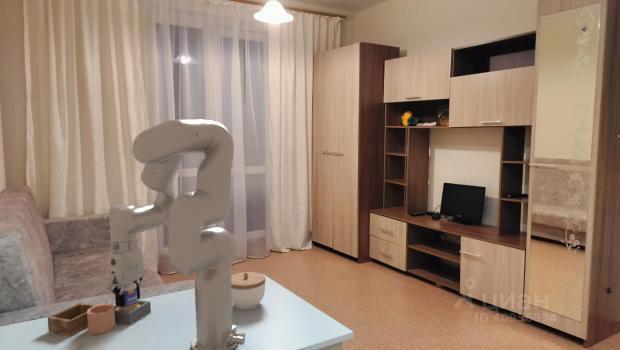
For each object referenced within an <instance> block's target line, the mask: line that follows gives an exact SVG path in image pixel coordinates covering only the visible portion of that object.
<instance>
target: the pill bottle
mask: <svg viewBox="0 0 620 350" xmlns="http://www.w3.org/2000/svg"><path fill="white" fill-rule="evenodd" d="M118 289H120V286H118ZM123 294H125V307H119V309H120V310H122V311H129V310H133V309H135V308H136V307H137V306H138V301H137V300H138V299H137V285H136V283H134V282H131V283H129V284H127V285H124V290H123Z"/></svg>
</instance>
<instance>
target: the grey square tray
mask: <svg viewBox="0 0 620 350" xmlns="http://www.w3.org/2000/svg"><path fill="white" fill-rule="evenodd" d="M137 301H138V304H141V305H140V306H139V307H137V308H135V309H133V310H131V311H129V312H128V311H122V310H116V309H117V308H119V306H116V304H113V305H114V311H115V323H117V324H118V323H119V324H124V325H132V324H134V323H135V322H137V321H139V320H140V319H143V318H144V317H146V316H147V315H149V314H151V313H152V308H151V307H152V306H151V305H152V304H151V301H147V300H143V299H142V300H140V299H137Z"/></svg>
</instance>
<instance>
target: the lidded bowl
mask: <svg viewBox="0 0 620 350" xmlns="http://www.w3.org/2000/svg"><path fill="white" fill-rule="evenodd" d="M231 285H232V286H231V291H232V305H234V306H235V307H236V309H238V310H242V309H243V310H244V311H245V310H252V309H254V308H257V307H258V305H259V304H260V303H261V301H263V298H264V295H265V291H266V290H265V289H266V276H265V275H264V274H263V273H259V272H257V271H256V272H255V271H245V272H243V271H242V272H238V273H234V274H231Z"/></svg>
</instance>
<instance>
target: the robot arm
mask: <svg viewBox="0 0 620 350" xmlns="http://www.w3.org/2000/svg"><path fill="white" fill-rule="evenodd" d="M234 144H235V143H234V140H233V137H232V134H231V133H230V131H229V130H228V129H227V128H226V126H225V125H224V124H222V123H220V122H217V121H215V120H214V121H213V120H208V119H171V120H170V119H169V120H167V121H163V122H161V123H158V124H157V125H154V126H152V127H149V128H147V129H145V130H142V131H141V132H140V133H139V134H137V136H136V137H135V138H134V140H133V143H132V146H131V149H132V154H133V157H134V159H135V160H136V161H137V162H138V163H140V164H145V165H144V166H143V169H142V172H141V174H140V180H141V183H142V184H143V185H144V186H145V187H146V188H148V189H151V190H153V191H155V192H157V193H156V197H155V199H154V202H153V203H150V204H145V205H139V206H136V207H135V205H132V204H117V205H113V206H111V207H110V208H109V211H108V218H109V233H110V245H111V246H109V250H110V251H111V252H110V254H109V262H108V263H109V265H108V266H109V268H108V271H109V272H108V274H109V275H108V276H109V280H108V282H107V284H106V286H105V288H106V290H108V291H110V292H111V293H112V294H113V295H114V296H115V297H114V298H115V305H116V306H119V307H125V294H123V290H124V285H127V284H129V283H131V282H134V283H136V285H137V300H140V298H141V289H140V288H141V287H140V286H141V285H142V280H144V279H143V277H144V276H145V274H146V269H145V265H144V264H145V262H144V257H143V253H142V250H141V246H139V238H138V236H139V235H138V234H139V233H143V232H146V231H150V230H155V229H158V228H160V227H161V228H162V227H163V226H164V225H166V223H167V222H168V259H169V263H170V265H171V267H172V269H173V271H174V272H176V273H177V274H178V275H181V276H190V275H193V274H195V277H194V304H195V324H196V325H195V326H196V327H195V328H196V335H195V336H194V337H193V338H192V339H191V342H190V346H191V350H234V349H235V348H236V347H237V346H244V345H245V342H246V338H245V337H246V333H245V332H238V331H237V330H238V329H237V325H235V324H234V322H233V321H234V320H233V303H232V291H231V286H232V285H231V275H232V265H233V257H234V251H235V248H234V247H235V242H234V239H233V238H234V237H232V235H231V233H230V232H229V231H228V230H227V229H225V228H223V227H218V226H217V227H216V225H219V224H220V223H222V222H224V221H227V219H228V218H229V214H230V209H231V208H230V207H231V191H232V190H231V188H232V187H231V186H232V169H233V168H232V167H233V161H234V160H233V159H234V153H235V151H234V150H235V147H234V146H235V145H234ZM200 153H202V154H204V156H203V158H202V159H201V161H200V163H199V166H198V169H197V172H196V188H195V190H194V191H193V190H192V191H187V192H183V193H181V194H179V195H178V196H176V197H175V192H174V188H173V186H172V183H173V181H174V180H175V176H176V174H177V173H178V170H179V167H180V166H181V164H182V161H183V159H184V157H185V155H188V154H189V155H190V154H200ZM212 226H213V227H212ZM118 286H120V289H118Z"/></svg>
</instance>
